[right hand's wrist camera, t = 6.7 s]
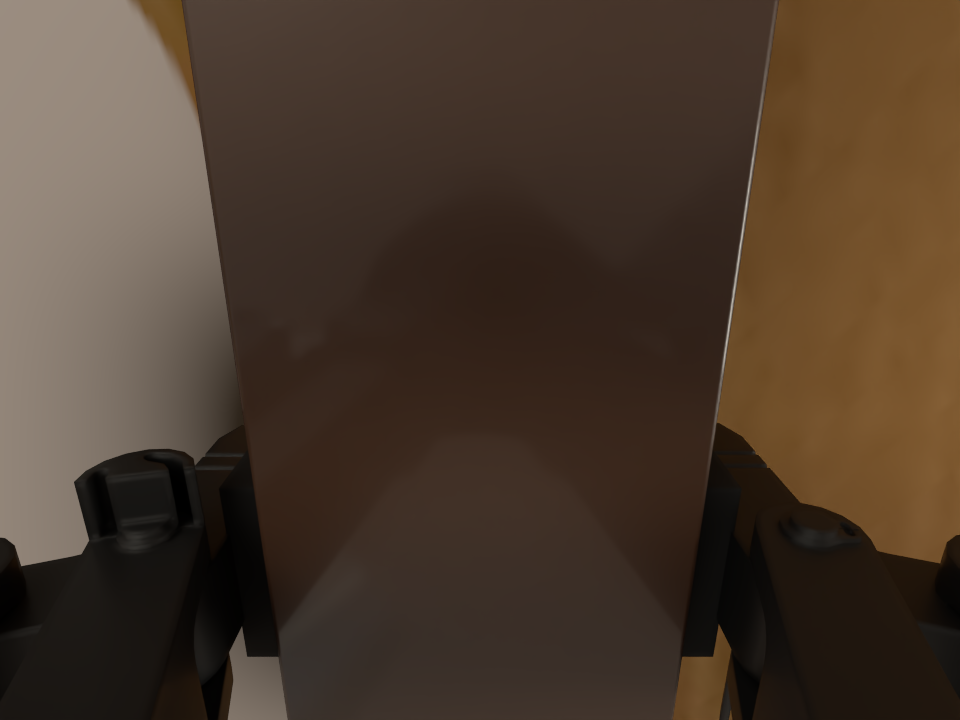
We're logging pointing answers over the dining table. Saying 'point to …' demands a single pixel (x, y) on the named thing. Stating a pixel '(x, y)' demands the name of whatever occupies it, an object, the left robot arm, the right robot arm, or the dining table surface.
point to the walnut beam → (480, 334)
